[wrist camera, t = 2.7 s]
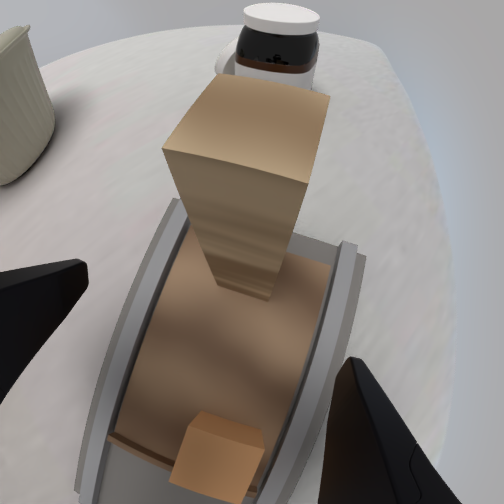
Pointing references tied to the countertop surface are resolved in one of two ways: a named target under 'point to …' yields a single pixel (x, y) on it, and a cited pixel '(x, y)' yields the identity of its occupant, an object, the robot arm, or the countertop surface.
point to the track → (127, 350)
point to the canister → (21, 106)
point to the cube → (218, 458)
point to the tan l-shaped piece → (231, 272)
